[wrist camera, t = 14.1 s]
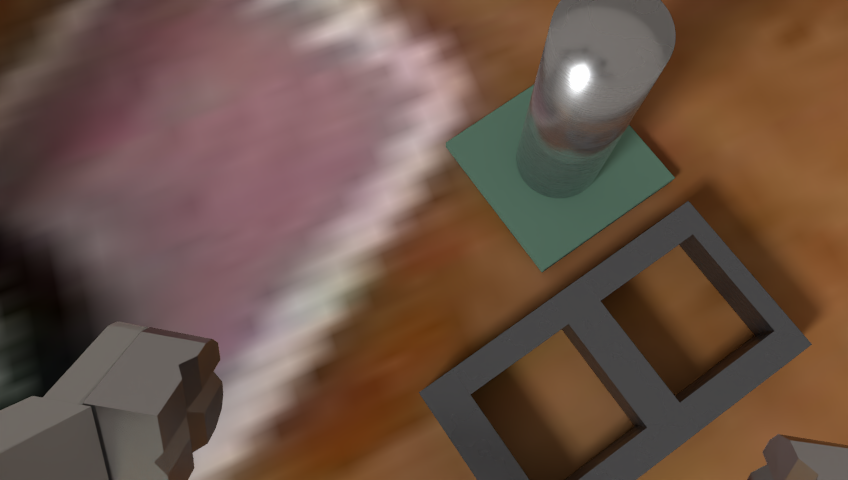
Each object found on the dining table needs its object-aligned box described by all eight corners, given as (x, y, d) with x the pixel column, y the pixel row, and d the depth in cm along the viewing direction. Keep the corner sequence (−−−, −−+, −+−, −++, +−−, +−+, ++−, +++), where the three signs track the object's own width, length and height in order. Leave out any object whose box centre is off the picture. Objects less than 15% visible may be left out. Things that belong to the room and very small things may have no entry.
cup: (499, 150, 35) (525, 19, 24) (564, 106, 36) (621, -42, 24) (549, 214, 34) (603, 109, 22) (616, 168, 35) (701, 43, 23)
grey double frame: (420, 393, 32) (418, 392, 31) (675, 212, 34) (688, 200, 33) (525, 550, 30) (531, 560, 28) (790, 348, 32) (811, 344, 30)
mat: (446, 146, 36) (445, 142, 35) (570, 64, 37) (572, 59, 36) (541, 272, 34) (543, 270, 33) (671, 181, 35) (674, 177, 34)
